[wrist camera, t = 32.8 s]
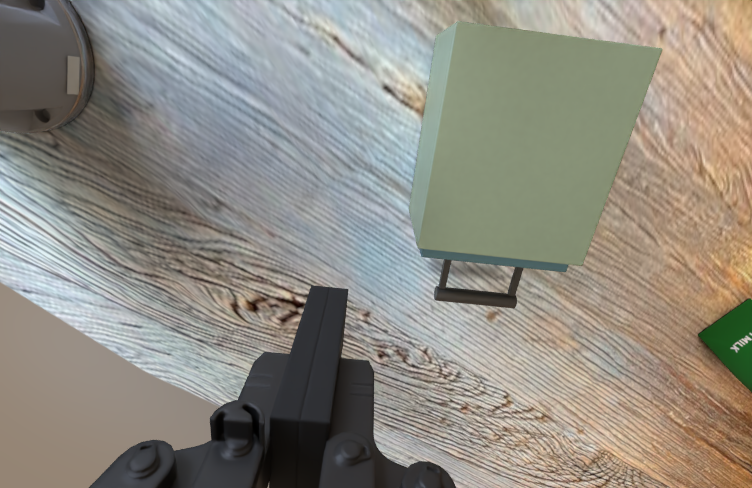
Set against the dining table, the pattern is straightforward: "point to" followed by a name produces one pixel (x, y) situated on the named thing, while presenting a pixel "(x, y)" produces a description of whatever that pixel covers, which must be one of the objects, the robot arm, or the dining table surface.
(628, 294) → the dining table surface
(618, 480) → the dining table surface
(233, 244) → the dining table surface
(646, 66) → the cabinet
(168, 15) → the dining table surface
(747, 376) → the milk carton
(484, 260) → the drawer
